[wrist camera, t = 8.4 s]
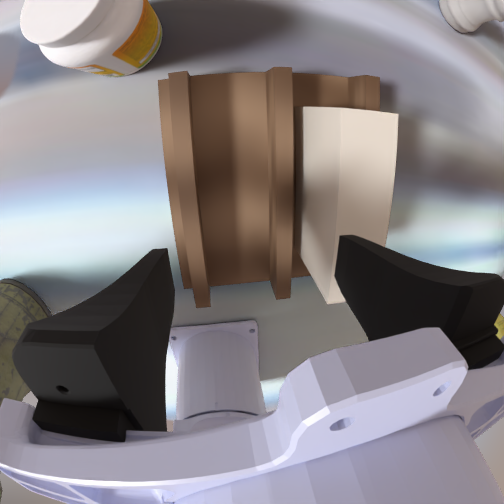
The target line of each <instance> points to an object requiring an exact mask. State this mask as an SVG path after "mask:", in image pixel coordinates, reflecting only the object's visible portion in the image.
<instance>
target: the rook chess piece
mask: <svg viewBox="0 0 504 504" xmlns="http://www.w3.org/2000/svg"><path fill="white" fill-rule="evenodd" d="M439 7H440V10H441V13H442V15H443V17H444V18H445V20H446V21H447V22H448V23H449V24H450V25H451V26H452V27H453V28H454V29H456V30H458V31H459V32H461V33H467V32H468V31H469V32H473V31H475V30H476V29H477V28H478V27H479V26H481V25H482V23H484V22H488V21H492V20H498V21H499V22H503V21H504V0H439Z"/></svg>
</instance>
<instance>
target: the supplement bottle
mask: <svg viewBox="0 0 504 504" xmlns="http://www.w3.org/2000/svg"><path fill="white" fill-rule="evenodd" d="M20 26H21V30H22V33H23V35H24V36H25V37H26V38H27V39H28V40H29V41H31V42H33V43H35V44H38V45H39V47H40V49H41V51H42V52H43V54H44V55H45V56H46V57H47V58H48V59H49V60H50V61H52V62H53V63H55V64H58V65H61V66H64V67H68V68H73V69H78V70H82V71H86V72H91V73H95V74H99V75H103V76H107V77H122V76H126V75H129V74H132V73H134V72H136V71H138V70H140V69H141V68H143V67H144V66H145V65H146V64H148V63H149V62H150V60H151V59H152V58H153V57H154V56H155V54H156V53H157V51H158V49H159V47H160V44H161V40H162V26H161V23H160V21H159V18H158V17H157V15H156V13H155V12H154V10H153V8H152V7H151V5H150V4H149V2H148V0H26V1H25V3H24V6H23V9H22V12H21V17H20Z"/></svg>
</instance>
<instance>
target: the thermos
mask: <svg viewBox="0 0 504 504" xmlns="http://www.w3.org/2000/svg"><path fill="white" fill-rule="evenodd" d="M50 316H52V315H51V313H50V311H49V310H48V308H47V307H46V305H45V303H44V302H43V301H42V300H41V299H40V298H39V297H38V296H37V294H36V293H35V292H34V291H32V290H31V289H29V288H28V287H27V286H25V285H24V284H22V283H20V282H17V281H15V280H11V279H3V280H0V407H1V404H2V402H3V399H4V398H8V399H12V400H16V401H20V402H22V400H23V397H24V396H26V394H28V393H29V392H30V391H31V390H30V389H29V387H28V386H27V385H26V383H25V382H24V380H23V379H22V378H21V376H20V375H19V373H18V371H17V370H16V368H15V366H14V363H13V359H12V350H13V348H14V347H15V345H16V343H17V341H18V339H19V337H20V336H21V334H22V332H23V330H24V329H25V327H26V325H27V324H28V323H31V322H34V321H38V320H41V319H44V318H47V317H50ZM1 495H2V487H1V483H0V501H1Z"/></svg>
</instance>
